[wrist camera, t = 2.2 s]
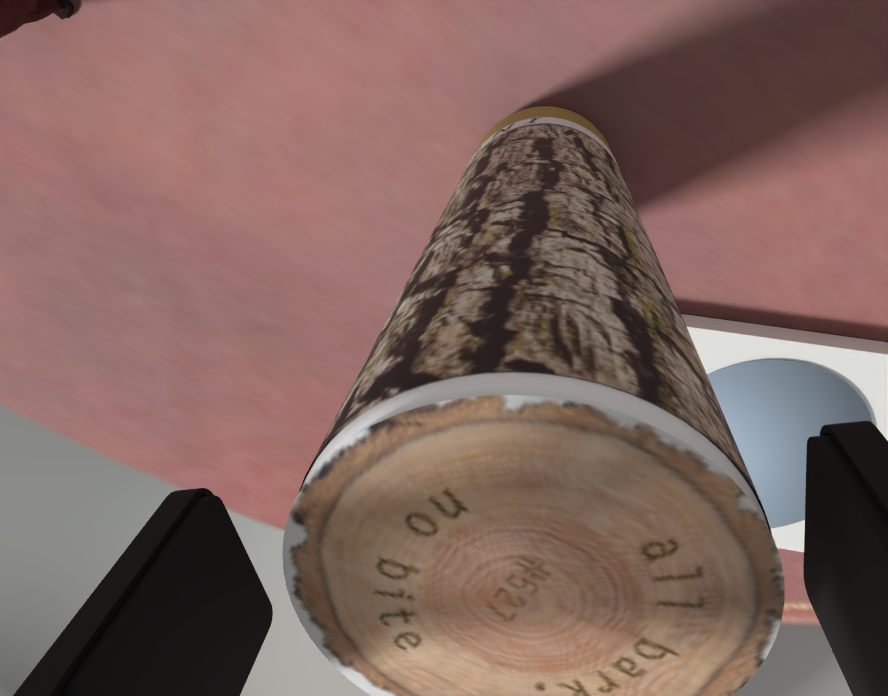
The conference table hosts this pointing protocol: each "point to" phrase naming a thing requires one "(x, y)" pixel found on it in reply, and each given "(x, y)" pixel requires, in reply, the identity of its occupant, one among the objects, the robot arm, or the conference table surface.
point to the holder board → (788, 402)
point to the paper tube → (535, 460)
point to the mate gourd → (30, 12)
